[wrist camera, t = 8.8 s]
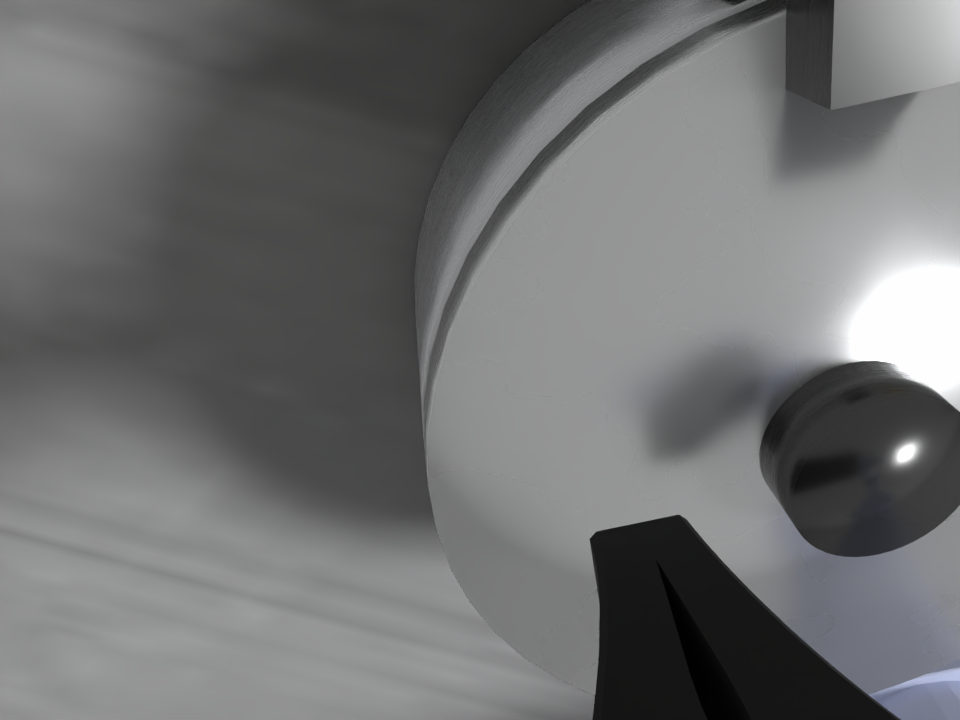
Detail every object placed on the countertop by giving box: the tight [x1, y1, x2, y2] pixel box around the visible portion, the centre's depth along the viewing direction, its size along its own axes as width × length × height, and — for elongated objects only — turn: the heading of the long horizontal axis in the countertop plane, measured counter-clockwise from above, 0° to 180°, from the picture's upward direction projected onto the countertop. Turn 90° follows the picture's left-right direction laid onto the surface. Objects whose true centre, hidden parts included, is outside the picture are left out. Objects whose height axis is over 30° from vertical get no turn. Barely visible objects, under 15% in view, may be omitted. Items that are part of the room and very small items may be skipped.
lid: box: [423, 0, 960, 695], centre depth 12 cm, size 21×14×2 cm, turn 10°
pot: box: [414, 0, 766, 439], centre depth 15 cm, size 22×14×5 cm, turn 10°
